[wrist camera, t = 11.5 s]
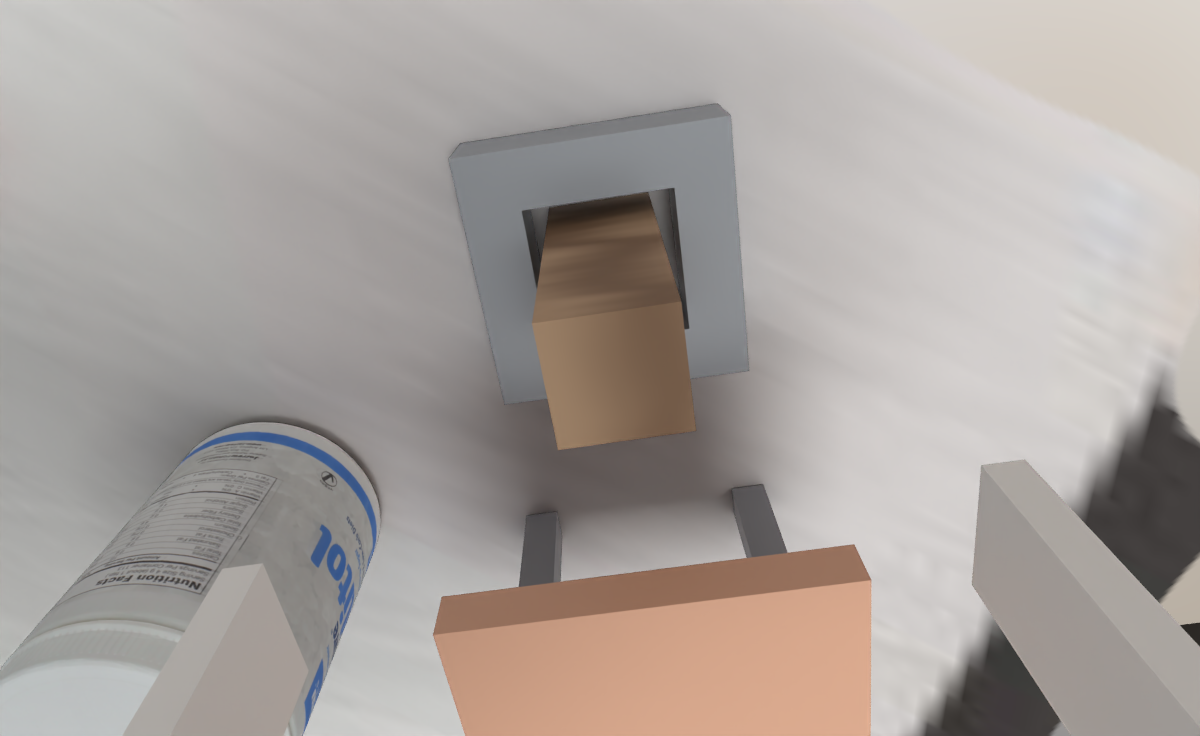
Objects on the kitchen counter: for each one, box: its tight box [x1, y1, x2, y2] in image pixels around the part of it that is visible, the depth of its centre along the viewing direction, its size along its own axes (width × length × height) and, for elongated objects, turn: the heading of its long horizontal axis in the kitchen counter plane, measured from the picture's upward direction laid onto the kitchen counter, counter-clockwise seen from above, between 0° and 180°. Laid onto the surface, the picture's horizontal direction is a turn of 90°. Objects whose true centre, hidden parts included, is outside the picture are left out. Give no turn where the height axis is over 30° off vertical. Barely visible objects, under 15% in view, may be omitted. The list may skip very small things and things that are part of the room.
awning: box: [433, 485, 871, 736], centre depth 30 cm, size 12×9×15 cm
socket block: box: [449, 104, 749, 405], centre depth 31 cm, size 10×10×3 cm
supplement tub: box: [0, 422, 380, 736], centre depth 31 cm, size 10×10×15 cm
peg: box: [532, 192, 696, 450], centre depth 27 cm, size 4×4×12 cm
